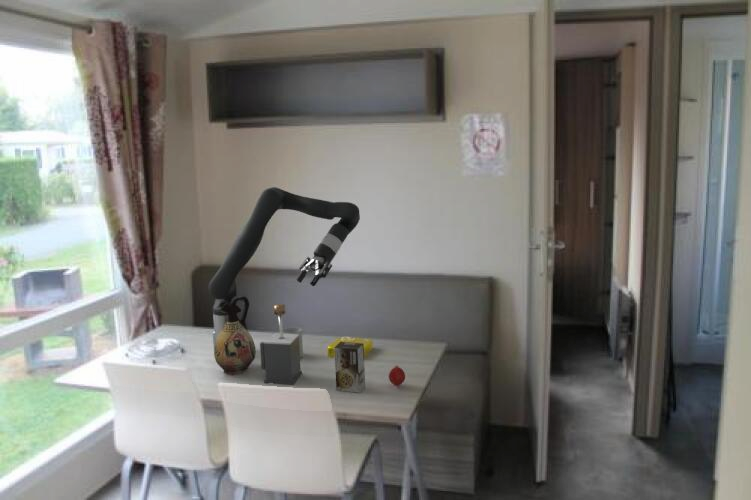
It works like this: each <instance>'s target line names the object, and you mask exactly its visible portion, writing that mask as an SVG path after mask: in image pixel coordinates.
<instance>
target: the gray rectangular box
mask: <svg viewBox="0 0 751 500" xmlns="http://www.w3.org/2000/svg"><path fill="white" fill-rule="evenodd" d="M277 333H278V332H277ZM277 333H272V334H271V335H270V336H268V338H266V339H265V340H264V341H261V342H260V343H259V350H260V363H261V364H260V365H261V370H264V371H265V379H264V381H263V382H264V383H263V384H269V383H273V384H274V385H295V383H296V382H297V381H298V379H299V378H300V377H301V376H302V375H303V370H301V358H300V349H299V334H283V339H280V334H277Z"/></svg>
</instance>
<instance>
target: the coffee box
mask: <svg viewBox="0 0 751 500" xmlns="http://www.w3.org/2000/svg"><path fill="white" fill-rule="evenodd" d="M334 356H335V357H334V368H335V371H334V372H335V387H336V388H335V391H338V392H350V393H359V394H360V393H361V392H362V391H363V390H364V388H366V377H365V376H366V373H365V372H366V371H365V370H366V369H365V357H364V345H363V343H351V342H340V343H339V344H337V346H335V347H334Z"/></svg>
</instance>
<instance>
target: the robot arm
mask: <svg viewBox="0 0 751 500" xmlns="http://www.w3.org/2000/svg"><path fill="white" fill-rule="evenodd" d="M279 210H291V211H296V212H299V213H302V214H306V215H308V216H311V217H314V218H318V219H324V220H327V221H328V220H329V221H331V220H334V219H335V218H340V219H339V221H338V222H336V223H334V224H333V225H332V226H331V227H330V228H329V231H328V232H326V235H325V236H323V238H322V239H321V241H320V242H319V244H318V245H317V246H316V248H315V249H314V251H313V256H312V258H311V257H309V256H307V257H306V258H305V260H303V262H301V263H302V264H300V266H299V268H298V270H299V271H300V273H299V274H298V276H297V277H296V281H297V282H298V283H302V281H303V280H304V279H305V278H306V276H307V275H308V274H309V273H312V272H315V275H313V277H312V279H310V281H309V284H310V285H311V286H312V287H315V286H317V283H318V281H320V279H322V278H323V279H325V278H326V277H327V275H328V274H329V272H330V270H331V269H332V267H333V264H332V261H333V260H334V258H335V256H336V255H337V253H338V252H339V250H340V249H341V247H342V245H343V243H344V242H345V240H346V239H347V237H348V236H349V235H350V233H351V232H352V231H353V230H355V228H356V227H357V226H358V224H359V223H360V208H359V207H358V206H357V205H356V204H355V203H352V202H348V201H335V202H334V201H329V200H322V199H318V198H313V197H307V196H302V195H298V194H295V193H292V192H289V191H286V190H284V189H282V188H279V187H275V186H274V187H273V186H272V187H269V188H266V189H264V190H262V191H261V193H260V194H259V197H258V199H257V200H256V202H255V205H254V208H253V210H252V212H251V214H250V216H249V217H248V219H247V220H246V222H245V223H244V225H243V226H242V228H241V229H240V231H239V232H238V234H237V235H236V238H235V240H234V241H233V243H232V244H231V247H230V249H229V251H228V252H227V255H226V257H225V258H224V261H223V263H222V264H221V266H220V267H219V269H218V270H217V271H216V273H215V274H214V276H213V277H212V278H211V280H210V281H209V283H208V293H209V295H210V297H212V298H213V299H215V300H214V304H213V306H212V315H213V316H212V317H213V329H214V330H213V331H212V343H213V344H212V345H213V351H214V350H215V344H216V340H217V338H218V336H219V334H220V332H221V330H222V328H223V327H224V325H225V324H226V322H227V320H228V315H227V314H226V313H223V312H218V311H216V309H217V306H218V305H219V304H220V303H221V302H222V301H223V300H225V301H226V302H227V303H229V304H230V303H231V301H232V299H233V298H234V297H235V296H238V294H237V293H238V292H237V289H238V288H237V283H236V278H237V276H238V275H239V273H240V272H241V271H242V270H243V269H244V267H246V265H247V264H248V262H250V260H251V259H252V257H253V256H255V255H254V254H255V253H256V251H257V250H258V248H259V246H260V245H261V242H262V240H263V236H264V233H265V230H266V228H267V225H268V223H270V220H271V219H272V217H273V216H274V215H275V214H276V212H277V211H279ZM237 304H238V301H237V302H236V303H235V305H237ZM237 306H238V305H237Z"/></svg>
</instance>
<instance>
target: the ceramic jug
mask: <svg viewBox="0 0 751 500" xmlns="http://www.w3.org/2000/svg"><path fill="white" fill-rule="evenodd" d="M236 302H237V303H238V302H244V306H243V310H242V309H241V308H240V307H239V306H238V305H235V303H236ZM249 308H250V301H249V299H248V298H247V296H245V295H242V294H237V296H235V297H234V298H233V299H232V301H231V303H230V304H229V303H227V302H226V301H225V300H223V301H222V302H221V303H220V304H219V305H218V306H217V309H216V311H218V312H223V313H226V314H227V315H228V320H227V322H226V324H225V325H224V327H223V328H222V330H221V332H220V334H219V336H218V338H217V340H216V344H215V350H214V349H213V356H214V359H215V362H216V363H217V366H219V367H220V368H221V369H222V370H223V374H225V375H227V376H237V375H242V374H245V373H247V372H248V371H249V369H250V366H251V364H252V363H253V362H254V361H255V359H256V355H257V354H256V353H257V352H256V344H255V341H254V339H253V337H252V336H251V333H250V332H249V330H248V326H247V324H246V319H247V316H248V312H249ZM241 312H242V313H241ZM238 313H241V317H240V318H239V317H238Z"/></svg>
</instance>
